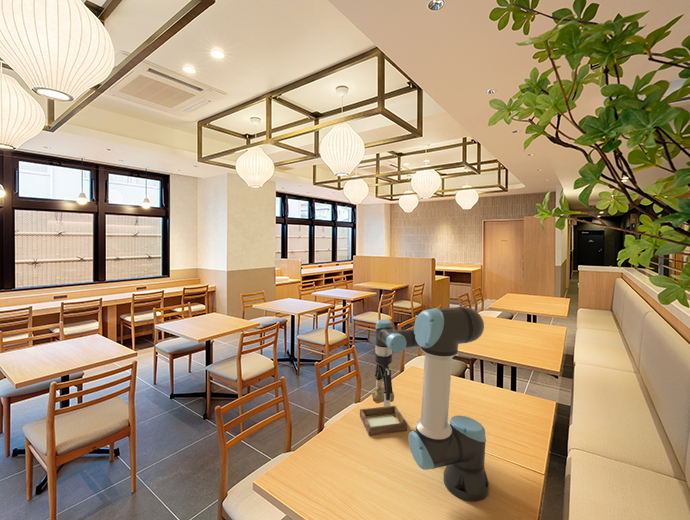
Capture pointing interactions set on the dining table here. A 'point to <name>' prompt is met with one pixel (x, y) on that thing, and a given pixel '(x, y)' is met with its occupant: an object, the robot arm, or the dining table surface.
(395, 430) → the brown wooden tray
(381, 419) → the pad
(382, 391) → the rock
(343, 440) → the dining table surface
